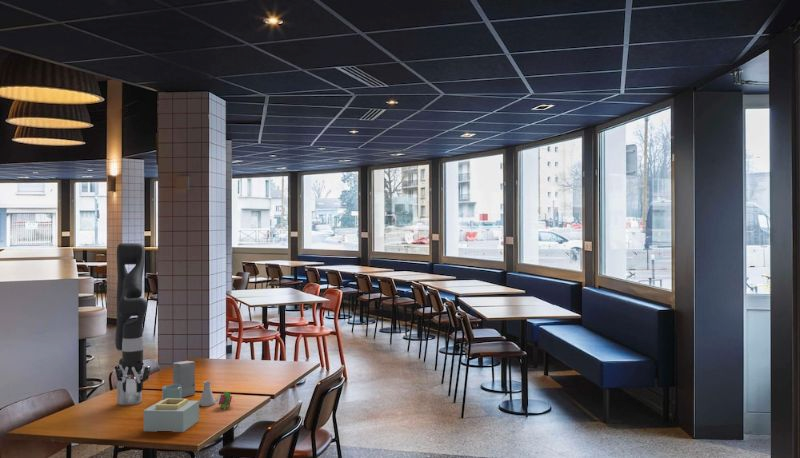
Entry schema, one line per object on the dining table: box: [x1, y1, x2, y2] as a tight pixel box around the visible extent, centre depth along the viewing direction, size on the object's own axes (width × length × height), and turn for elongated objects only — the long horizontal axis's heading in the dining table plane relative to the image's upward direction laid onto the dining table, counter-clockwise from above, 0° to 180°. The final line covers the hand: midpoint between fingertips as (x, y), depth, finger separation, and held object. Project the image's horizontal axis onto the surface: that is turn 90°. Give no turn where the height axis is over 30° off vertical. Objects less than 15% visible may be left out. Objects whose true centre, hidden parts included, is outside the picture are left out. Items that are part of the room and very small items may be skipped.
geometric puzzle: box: [215, 391, 234, 409], centre depth 255 cm, size 7×7×8 cm
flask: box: [199, 380, 217, 407], centre depth 259 cm, size 7×7×10 cm
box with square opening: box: [143, 398, 200, 433], centre depth 231 cm, size 16×14×10 cm
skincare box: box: [172, 360, 196, 399], centre depth 274 cm, size 8×7×16 cm
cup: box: [161, 384, 182, 400], centre depth 251 cm, size 8×8×10 cm
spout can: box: [126, 374, 140, 402], centre depth 228 cm, size 5×5×10 cm
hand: (132, 391), depth 228 cm, fingers closed on spout can, 5 cm apart
